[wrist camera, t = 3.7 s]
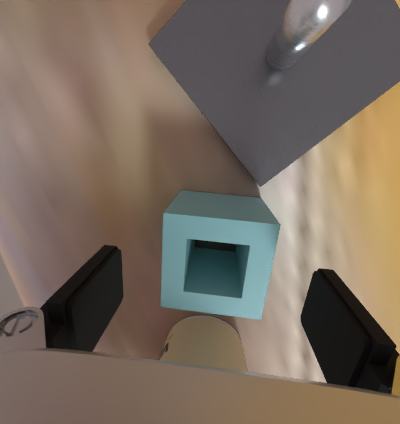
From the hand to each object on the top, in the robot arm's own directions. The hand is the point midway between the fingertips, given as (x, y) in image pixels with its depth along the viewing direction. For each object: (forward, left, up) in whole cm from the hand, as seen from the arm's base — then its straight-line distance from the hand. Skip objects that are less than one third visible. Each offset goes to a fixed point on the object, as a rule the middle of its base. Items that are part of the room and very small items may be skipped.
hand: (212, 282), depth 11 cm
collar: (0, -1, -8) cm, 8 cm away
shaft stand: (+11, +6, -8) cm, 15 cm away
